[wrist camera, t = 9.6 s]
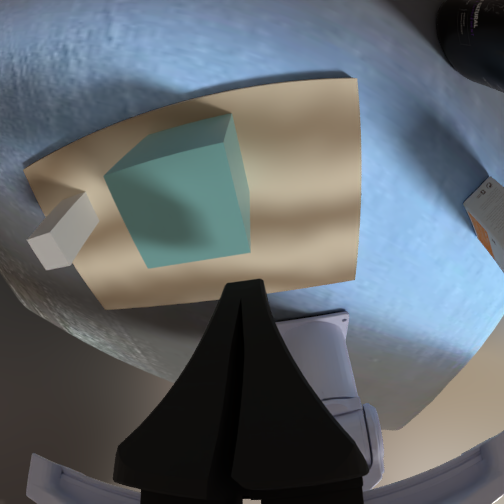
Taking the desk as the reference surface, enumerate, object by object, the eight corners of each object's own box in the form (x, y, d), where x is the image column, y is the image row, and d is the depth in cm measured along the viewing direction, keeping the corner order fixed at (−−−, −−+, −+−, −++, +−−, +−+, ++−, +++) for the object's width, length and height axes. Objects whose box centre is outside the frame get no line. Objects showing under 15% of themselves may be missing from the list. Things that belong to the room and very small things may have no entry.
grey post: (99, 220, 18) (70, 265, 14) (75, 227, 19) (46, 270, 15) (85, 191, 17) (49, 232, 13) (61, 200, 17) (26, 240, 13)
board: (352, 273, 23) (354, 279, 23) (107, 304, 26) (105, 309, 25) (352, 77, 13) (356, 78, 13) (28, 165, 16) (23, 169, 15)
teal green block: (249, 191, 17) (250, 252, 13) (172, 206, 18) (148, 268, 13) (231, 112, 14) (223, 142, 9) (147, 135, 15) (103, 176, 10)
